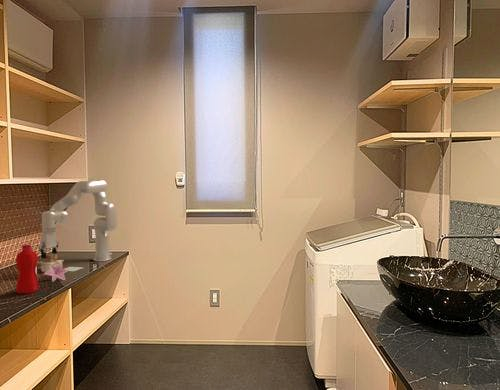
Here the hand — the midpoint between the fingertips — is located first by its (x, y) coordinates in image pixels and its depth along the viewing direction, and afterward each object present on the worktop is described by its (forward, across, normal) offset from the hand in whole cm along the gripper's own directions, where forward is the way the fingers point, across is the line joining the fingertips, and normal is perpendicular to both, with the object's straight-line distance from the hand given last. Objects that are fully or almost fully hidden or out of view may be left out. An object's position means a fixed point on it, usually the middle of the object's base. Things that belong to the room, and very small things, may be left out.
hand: (49, 257), depth 256 cm
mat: (+10, -6, +12) cm, 16 cm away
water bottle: (+10, +42, +22) cm, 48 cm away
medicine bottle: (+10, +16, -2) cm, 19 cm away
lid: (+4, 0, 0) cm, 4 cm away
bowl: (+10, 0, 0) cm, 10 cm away
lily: (+10, +17, +19) cm, 27 cm away
